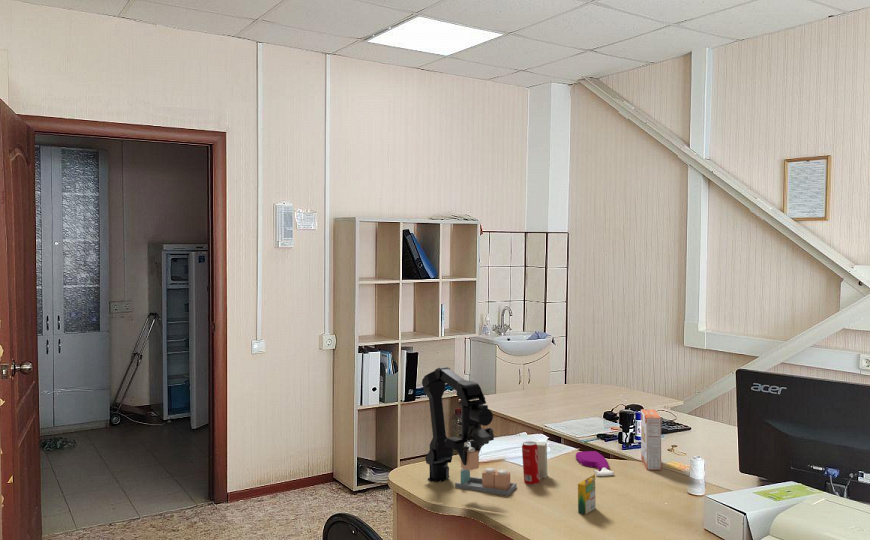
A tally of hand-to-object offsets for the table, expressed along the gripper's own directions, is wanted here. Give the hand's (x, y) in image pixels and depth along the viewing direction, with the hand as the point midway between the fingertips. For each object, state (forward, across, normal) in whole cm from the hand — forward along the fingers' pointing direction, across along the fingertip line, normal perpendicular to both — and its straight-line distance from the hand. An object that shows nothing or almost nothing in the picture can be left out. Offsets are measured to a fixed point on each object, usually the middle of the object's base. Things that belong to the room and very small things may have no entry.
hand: (469, 463), depth 243 cm
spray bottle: (+13, +60, -9) cm, 62 cm away
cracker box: (+12, +78, -22) cm, 82 cm away
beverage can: (+12, +27, -5) cm, 30 cm away
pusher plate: (+11, +7, +9) cm, 16 cm away
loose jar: (+2, 0, 0) cm, 2 cm away
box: (+12, +34, -2) cm, 36 cm away
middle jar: (+11, +11, +1) cm, 16 cm away
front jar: (+11, +12, -4) cm, 17 cm away
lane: (+12, +10, +2) cm, 16 cm away
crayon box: (+12, +20, -35) cm, 42 cm away
